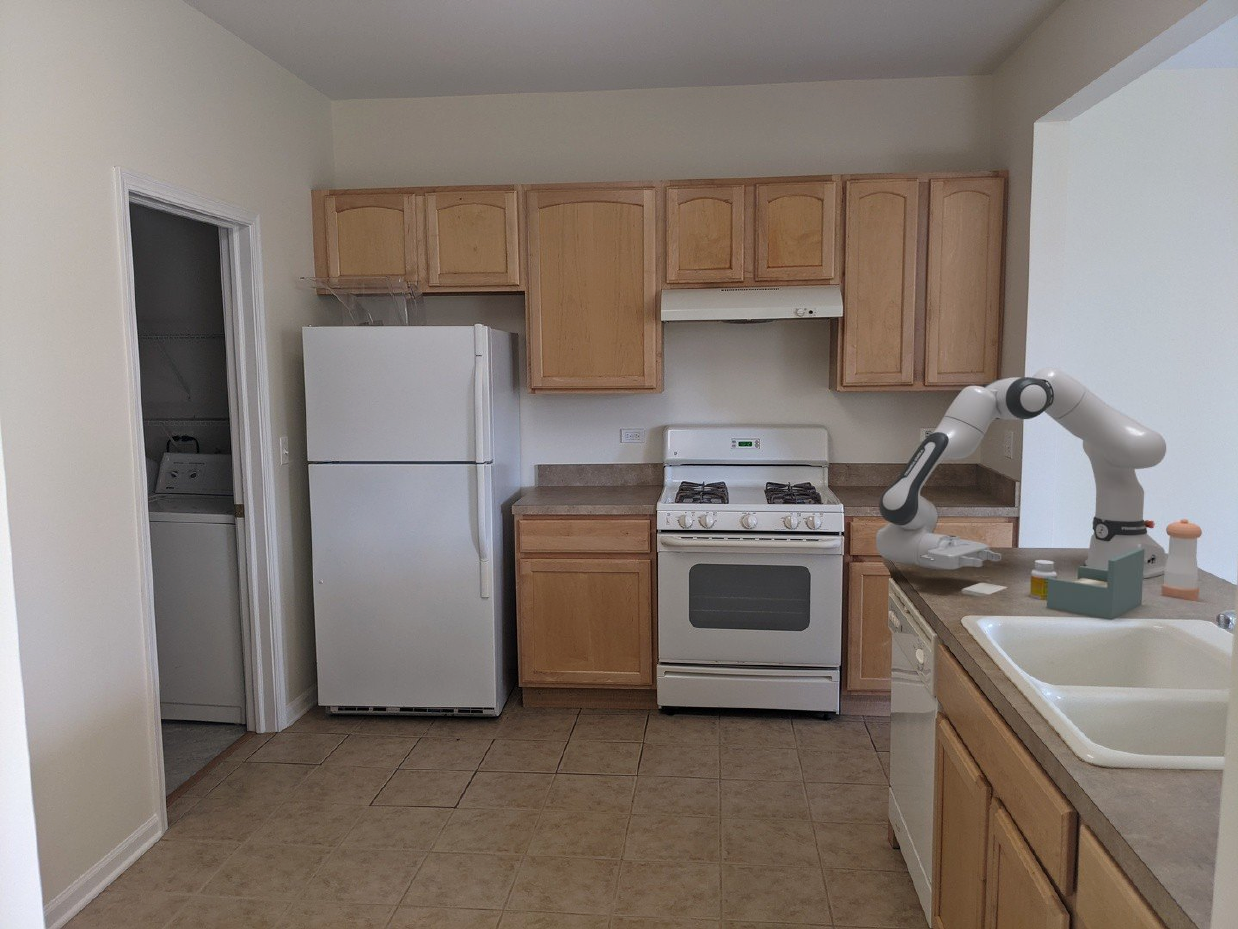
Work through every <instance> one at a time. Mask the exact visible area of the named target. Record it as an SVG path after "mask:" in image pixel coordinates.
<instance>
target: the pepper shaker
mask: <svg viewBox="0 0 1238 929" xmlns="http://www.w3.org/2000/svg"><path fill="white" fill-rule="evenodd" d="M1165 531H1166V534H1167V535H1168V536H1169V539H1168V540H1169V541H1168V552H1167V554H1168V555H1167V559H1166V561H1165V564H1166V566H1165V573H1164V574H1163V575H1164V578H1163V583H1162V584H1161V597H1166V598H1172V599H1178V600H1184V601H1191V602H1195V603H1196V602H1197V603H1198V602H1199V594H1200V592H1199V591H1200V589H1199V587H1198V581H1199V580H1198V579H1199V568H1198V560H1197V554H1198V552H1197V549H1198V539H1199V538H1200V537H1202V534H1203V530H1202V528H1201V527H1200V525H1198V524H1195V523H1193V522H1189V520H1188V519H1185V518H1182V519H1180V520H1179V521H1175V522H1171V523H1169V524H1168V525H1167V526H1166V528H1165Z"/></svg>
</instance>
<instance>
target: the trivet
mask: <svg viewBox="0 0 1238 929" xmlns="http://www.w3.org/2000/svg"><path fill="white" fill-rule="evenodd" d="M1007 588H1008V587H1007V586H1002V585H998V584H997V585H996V584H991V583H986V582H979V583H976V584H973V585H970V586H968V587H964V588H962V589H961V594H963V595H964V594H965V595H969V596H975V597H979V598H984V597H986V596H989V595H991V594H993V593H996V592H998V591H1002V590H1005V589H1007Z"/></svg>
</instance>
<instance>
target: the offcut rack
mask: <svg viewBox="0 0 1238 929" xmlns="http://www.w3.org/2000/svg"><path fill="white" fill-rule="evenodd" d="M1144 553H1145V549H1142V548H1138V549H1135V550H1133V551H1130V552H1128V553H1125V554H1123V555H1120V556H1118V557H1115V558H1113V559H1110V560H1108V570H1104V569H1097V568H1091V567H1086V566H1082V565H1080V566H1079V565H1078V570H1077V580H1078V579H1081V578H1085V579H1091V580H1097V581H1103V582H1107V587H1104V586H1098V585H1092V584H1085V583H1079V582H1073V581H1074V580H1073V581H1071V580H1066V579H1059V578H1057V579H1055V578H1048V588H1047V600H1046V608H1047V609H1051V610H1057V611H1060V612H1066V613H1073V614H1077V615H1082V616H1089V617H1093V618H1098V619H1104V620H1110V621H1112V620H1114V619H1116V618H1119V617H1120V616H1122V615H1123V614H1126V613H1128V612H1129V611H1131V610H1133V609H1135V608H1137V607H1139V606H1141V605H1142V602H1143V601H1142V599H1143V584H1144V582H1143V581H1144V578H1143V570H1144Z"/></svg>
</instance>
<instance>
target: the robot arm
mask: <svg viewBox="0 0 1238 929" xmlns="http://www.w3.org/2000/svg"><path fill="white" fill-rule="evenodd" d="M1043 413H1045V414H1047V415H1048V416H1049V417H1050V418H1052V419H1053V420H1054V421H1055V422H1057V423H1058V424H1059V425H1060V426H1062V427H1063V428H1064V429H1065V430H1067V431H1068V432H1069V433H1070V434H1072V436H1074V437H1076V438H1078V439H1080V440H1082V448H1083V452H1084V453H1085V455H1086V456H1087V458H1088V459H1089V461H1090V464H1091V470H1092V472H1093V477H1094V483H1095V491H1096V492H1095V515H1094V517H1093V519H1092V530H1093V534H1092V535H1091V538H1090V540H1089V541H1090V542H1089V548H1088V553H1087V559H1085V560H1084V564H1085V567H1091V568H1097V569H1104V570H1108V560H1110V559H1113V558H1115V557H1118V556H1120V555H1123V554H1125V553H1128V552H1130V551H1133V550H1135V549H1138V548H1142V549H1145V553H1144V570H1143V579H1145V578H1146V579H1149V578H1153V577H1157V576H1163V575H1164V573H1165V566H1166V551H1165V548H1164V547H1163V546H1162V545H1161V544H1160V543H1158V542H1157V541H1156V540H1154V539H1153V538H1152V537H1151V536H1150V535H1149V534H1148V529H1147V528H1149V529H1154V527H1155V525H1156V524H1155V521H1154V520H1148V519H1145V520H1144V505H1145V504H1144V503H1145V490H1144V488H1143V485H1142V484H1141V483H1140V482H1139V480H1138V477H1137V473H1136V471H1135V470H1142V469H1149V468H1153V467H1156V466H1157V465H1159V464H1160V463H1161V462H1162V461H1163V460H1164V458H1165V456H1166V454H1167V443H1166V440H1165V439H1164V437H1163V436H1162V435H1161V434H1160V433H1158V432H1157V431H1154V430H1152V429H1150V428H1149V427H1146V426H1144V425H1143V424H1142V423H1139V422H1138V421H1137V420H1135V419H1134V418H1131V417H1130V416H1128V415H1126V414H1125V413H1123V412H1122V411H1119V409H1118V410H1117V409H1116V408H1114V407H1112V406H1110V405H1109V404H1107V403H1106V402H1105V401H1104V400H1102V399H1101V398H1100V397H1098V396H1097V395H1096V394H1094V393H1093V392H1092V391H1091V390H1090V389H1089V388H1087V387H1086V386H1085V385H1084V384H1082V383H1081V382H1080V381H1078V380H1077V379H1075V378H1073V377H1072V376H1070V375H1069V374H1067V373H1065V372H1063V371H1061V370H1060V369H1058V368H1056V367H1046V368H1042V369H1040V370H1039V371H1037V372H1036V373H1035V374H1033V375H1032V377H1030V376H1025V377H1016V376H1015V377H1008V378H1003V379H1002V378H1001V379H996V380H992V381H991V382H988V383H987V384H986V385H984V386H980V385H969V386H966V387H964V388H963V389H961V391H960V392H959V393H958V395H957V396H956V397H955V398H954V400H953V401H952V402H951V404H950V406H949V407H948V408H947V410H946V412H945V414H944V416H943V417H942V419H941V420H940V422H939V424H938V426H937V427H936V428H935V429H934V431H933V432H932V433H931V434H928V436H926V438H925V439H924V440H923V441H922V442H921V443H920V445H919V446H918V448H917V449H916V450H915V452H914V453H913V455H912V456H911V458H910V459H909V461H908V462H907V463H906V465H905V467H903V469H902V471H901V473H899V475H898V476H897V478H896V479H895V480H894V481H893V482H891V484H890V485H889V486H888V487H886V488H885V490H884V491H883V492H882V494H881V495H880V498H879V501H878V509H879V514H880V515H881V517H882V518H883V519H884V520H885V521H887V522H888V523H887V524H886V525H885V526H884V527H882V528H880V529H879V530H878V531H877V532H876V537H875V546H876V549H877V552H878V553H879V554H880V556H881V557H883V558H884V559H885V560H889V561H892V562H896V563H900V564H906V565H917V566H919V567H921V568H926V569H927V568H928V569H933V570H938V571H943V570H956V569H959V568H962V567H976V568H980V567H982V566H984V561H986V560H990V561H991V562H1000V561H1002V554H1001V553H1000V552H999V553H997V552H993V551H992V550H991V547H990V545H988V544H986V543H983V542H979V541H976V540H975V541H974V540H969V539H965V538H964V539H963V538H960V536H958V535H947V534H940V533H934V532H935V529H936V527H937V524H938V521H939V512H938V509H937V507H936V505H935V504H934V503H932V502H931V501H929V500H928V499H927V498H925V497H924V496H922V495H921V490H922V488H923V486H924V485H925V484H926V482H927V481H928V479H929V477H930V476H931V475H932V474H933V473H932V472H934V470H935V469H936V467H937V466H938V465H939V464H940V463H942V462H945V461H946V460H962V459H965V458H968V457H970V456H972V454H973V453H974V452H975V451H976V450H977V448H978V447H979V445H980V444H981V442H982V440H983V438H984V436H985V434H986V433H987V431H988V429H989V426H991V424H992V423H993V421H994V420H1005V421H1006V420H1007V421H1018V420H1031V419H1034V418H1036V417H1038V416H1040V415H1041V414H1043Z"/></svg>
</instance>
